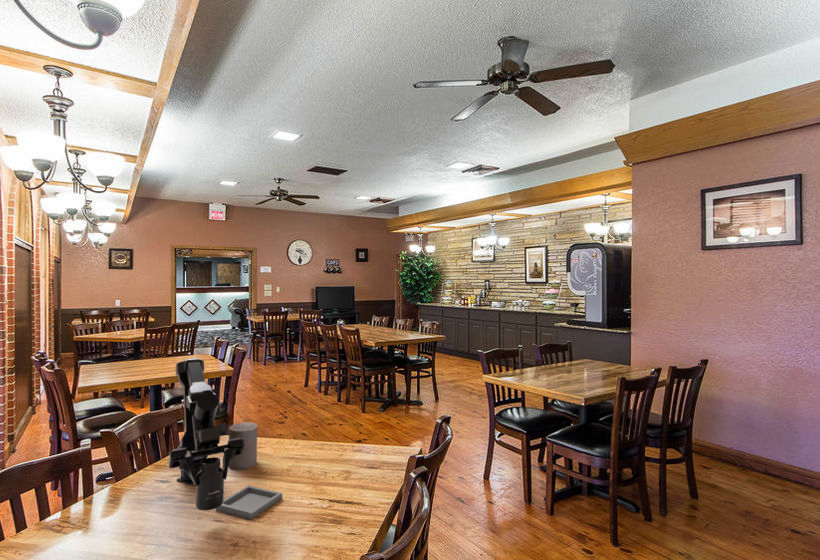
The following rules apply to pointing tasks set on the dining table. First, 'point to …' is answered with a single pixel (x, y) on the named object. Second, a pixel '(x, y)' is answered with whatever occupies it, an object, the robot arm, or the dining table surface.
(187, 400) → the robot arm
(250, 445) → the pillar candle
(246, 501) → the tray
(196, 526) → the dining table surface
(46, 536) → the dining table surface
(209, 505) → the supplement bottle
